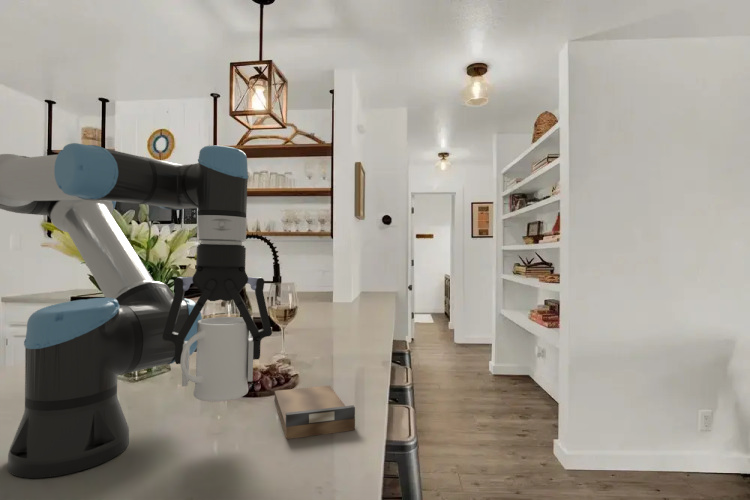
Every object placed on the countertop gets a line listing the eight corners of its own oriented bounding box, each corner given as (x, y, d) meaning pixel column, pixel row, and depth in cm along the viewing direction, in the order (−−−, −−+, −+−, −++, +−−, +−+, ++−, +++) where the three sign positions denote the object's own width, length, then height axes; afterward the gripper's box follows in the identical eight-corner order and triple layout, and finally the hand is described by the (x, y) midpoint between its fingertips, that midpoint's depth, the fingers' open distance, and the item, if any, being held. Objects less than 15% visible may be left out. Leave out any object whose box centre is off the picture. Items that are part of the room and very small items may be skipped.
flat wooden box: (286, 439, 71) (286, 415, 71) (274, 400, 90) (274, 381, 90) (355, 430, 75) (355, 407, 75) (329, 394, 94) (330, 376, 94)
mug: (192, 412, 61) (195, 329, 62) (163, 398, 67) (165, 322, 67) (258, 392, 71) (261, 320, 71) (228, 381, 76) (230, 314, 76)
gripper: (141, 241, 62) (138, 394, 62) (292, 245, 69) (289, 383, 69) (151, 241, 69) (147, 379, 69) (286, 245, 76) (283, 370, 76)
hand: (218, 381), depth 69 cm, fingers closed on mug, 9 cm apart
